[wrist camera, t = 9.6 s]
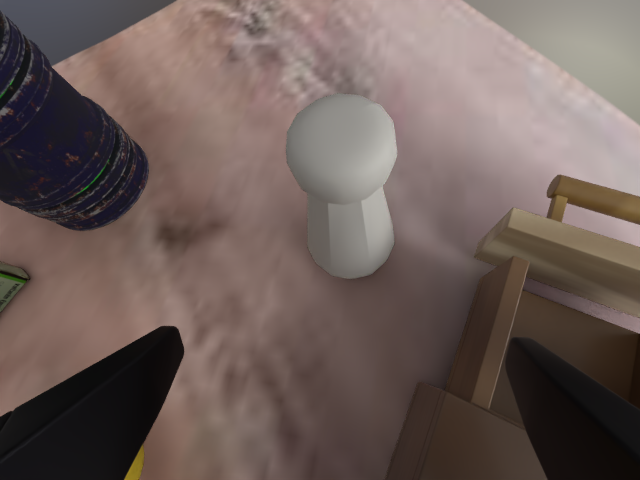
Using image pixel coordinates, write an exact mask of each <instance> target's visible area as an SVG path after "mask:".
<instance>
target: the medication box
mask: <svg viewBox="0 0 640 480" xmlns="http://www.w3.org/2000/svg"><path fill="white" fill-rule="evenodd" d="M27 280H30V278H29V275H28V274H27V273H26V271H24V270H23V269H22V268H20V267H17V266H14V265H11V264H8V263H5V262H1V261H0V312H1V311H2V310H3V309H4V308H5V306H6V305H7V304H8V303H9V302H10V300H11V299H12V298H13V297H14V296H15V295H16V293H17V292H18V291H19V290H20V289H21V288H22V286H23V285H24V284H25V283H26V282H27Z"/></svg>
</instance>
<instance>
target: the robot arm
mask: <svg viewBox="0 0 640 480" xmlns="http://www.w3.org/2000/svg"><path fill="white" fill-rule="evenodd" d="M183 355H184V346H183V343H182V340H181V337H180V333H179V330H178V329H177V327H175V326H161V327H159V328H157V329H155V330H154V331H152V332H150V333H148V334H147V335H145V336H143V337H141V338H139V339H138V340H136V341H134V342H132V343H131V344H129V345H127V346H125V347H124V348H122V349H120V350H118V351H116V352H115V353H113V354H111V355H109V356H108V357H106V358H104V359H102V360H100V361H99V362H97V363H95V364H93V365H92V366H90V367H88V368H86V369H84V370H83V371H81V372H79V373H77V374H76V375H74V376H72V377H70V378H68V379H67V380H65V381H63V382H61V383H60V384H58V385H56V386H54V387H52V388H51V389H49V390H47V391H45V392H44V393H42V394H40V395H38V396H37V397H35V398H33V399H31V400H29V401H28V402H26V403H24V404H22V405H21V406H19V407H17V408H15V409H14V411H10V412H8V413H6V414H4V415H3V416H1V417H0V480H124V479H125V477H126V475H127V473H128V471H129V469H130V468H131V466H132V464H133V462H134V460H135V458H136V456H137V454H138V452H139V450H140V449H141V447H142V445H143V443H144V441H145V439H146V437H147V435H148V433H149V432H150V430H151V428H152V426H153V424H154V422H155V420H156V418H157V416H158V414H159V412H160V410H161V408H162V406H163V404H164V402H165V399H166V397H167V395H168V392H169V390H170V387H171V385H172V383H173V380H174V378H175V375H176V373H177V370H178V368H179V366H180V363H181V361H182V358H183ZM505 369H506V373H507V376H508V379H509V382H510V385H511V388H512V391H513V394H514V397H515V400H516V403H517V406H518V409H519V412H520V415H521V418H522V421H523V424H524V427H525V429H526V432H527V435H528V437H529V439H530V442H531V444H532V446H533V449H534V451H535V453H536V455H537V457H538V460H539V462H540V464H541V466H542V469H543V471H544V473H545V475H546V477H547V480H640V409H638V408H637V407H635V406H634V405H632V404H631V403H629V402H628V401H626V400H625V399H623V398H622V397H620V396H619V395H617V394H616V393H614V392H613V391H611V390H610V389H608V388H606V387H605V386H603V385H602V384H600V383H599V382H597V381H596V380H594V379H593V378H591V377H590V376H588V375H587V374H585V373H584V372H582V371H581V370H579V369H578V368H576V367H575V366H573V365H572V364H570V363H569V362H567V361H566V360H564V359H563V358H561V357H560V356H558V355H557V354H555V353H553V352H552V351H550V350H549V349H547V348H546V347H544V346H543V345H541V344H540V343H538V342H537V341H535V340H534V339H532V338H529V337H513V338H511V340H510V342H509V347H508V351H507V355H506V359H505Z"/></svg>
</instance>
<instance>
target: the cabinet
mask: <svg viewBox="0 0 640 480" xmlns="http://www.w3.org/2000/svg"><path fill="white" fill-rule="evenodd" d="M384 480H547V477H546V475H545V473H544V471H543V469H542V466H541V464H540V462H539V460H538V457H537V455H536V453H535V451H534V449H533V446H532V444H531V442H530V439H529V437H528V435H527V432H526V430H525V429H523V428H521V427H519V426H517V425H515V424H513V423H511V422H509V421H507V420H505V419H502V418H500V417H498V416H496V415H494V414H492V413H490V412H488V411H486V410H484V409H482V408H480V407H478V406H476V405H474V404H471V403H469V402H467V401H465V400H463V399H461V398H459V397H457V396H455V395H453V394H451V393H449V392H446V391H444V390H441V389H438V388H436V387H433V386H431V385H428V384H425V383H423V382H420V381H419V382H418V383H417V386H416V389H415V392H414V395H413V398H412V401H411V404H410V407H409V409H408V412H407V415H406V418H405V421H404V424H403V427H402V430H401V433H400V436H399V438H398V441H397V444H396V447H395V450H394V453H393V456H392V459H391V462H390V465H389V467H388V470H387V473H386V476H385V479H384Z"/></svg>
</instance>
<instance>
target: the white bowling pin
mask: <svg viewBox="0 0 640 480" xmlns="http://www.w3.org/2000/svg"><path fill="white" fill-rule="evenodd" d="M286 157H287V164H288V166H289V168H290V170H291V172H292V173H293V175H294V177H295V179H296V180H297V182H298V184H299V186H300V187H301V189H302V190H304V191H305V192H307V193H308V218H307V248H308V250H309V251H310V253H311V255H312V257H313V259H314V261H315V263H316V264H317V265H319V266H320V267H321V268H323V269H324V270H325V271H326V272H328V273H329V274H330V275H332V276H335V277H341V278H347V279H355V278H359V277H363V276H368V275H371V274H372V273H373V272H375V271H376V270H377V269H378V268H379V267H380V266H381V265H382V264H384V263H385V262H386V261H387V259H388V257H389V255H390V252H391V250H392V248H393V246H394V243H395V241H394V232H393V224H392V220H391V217H390V213H389V209H388V206H387V202H386V198H385V195H384V191H383V187H382V186H383V185H384V184H385V183H386V181H387V179H388V177H389V174H390V172H391V170H392V168H393V166H394V164H395V160H396V157H397V146H396V138H395V131H394V123H393V121H392V119H391V118H390V117H389V115H388V114H387V113H386V111H385V110H384V109H383V107H382V106H381V105H379V104H377V103H375V102H373V101H371V100H369V99H367V98H365V97H362V96H360V95H353V94H341V93H337V94H333V95H330V96H326V97H323V98H320V99H317V100H316V101H314V102H313V103H312V104H310V105H309V106H307V107H306V108H305V109H303V110H302V111H300V112H299V113H298V114H297V115H296V117H295V119H294V120H293V122H292V124H291V126H290V127H289V129H288V131H287V143H286Z"/></svg>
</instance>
